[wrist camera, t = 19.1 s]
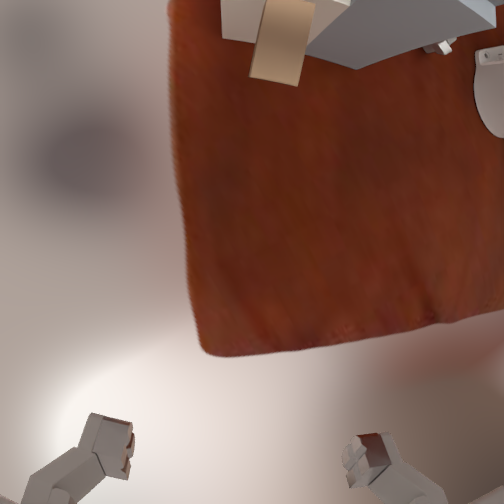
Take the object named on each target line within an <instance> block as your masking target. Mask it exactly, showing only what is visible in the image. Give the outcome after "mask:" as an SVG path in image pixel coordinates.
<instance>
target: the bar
mask: <svg viewBox="0 0 504 504" xmlns="http://www.w3.org/2000/svg"><path fill="white" fill-rule="evenodd" d="M315 6H316V4H314V3H311V2H307V1H303V0H266V1H265V4H264V6H263V11H262V15H261V20H260V24H259V29H258V33H257V38H256V42H255V47H254V52H253V57H252V61H251V66H250V71H249V76H248V77H250V78H256V79H261V80H267V81H272V82H277V83H281V84H286V85H292V86H298V82H299V78H300V73H301V69H302V64H303V60H304V55H305V51H306V46H307V42H308V37H309V33H310V28H311V24H312V19H313V15H314V10H315Z"/></svg>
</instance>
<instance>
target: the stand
mask: <svg viewBox="0 0 504 504" xmlns="http://www.w3.org/2000/svg"><path fill="white" fill-rule="evenodd" d="M265 1H266V0H221V19H222V38H225V39H232V40H238V41H244V42H250V43H255V42H256V38H257V33H258V29H259V24H260V20H261V15H262V11H263V6H264V4H265ZM303 1H307V2H311V3H314V4H316V6H315V10H314V15H313V19H312V24H311V28H310V33H309V37H308V42H307V46H306V51H305V55H309V56H313V57H316V58H320V59H323V60H327V61H330V62H333V63H337V64H340V65H343V66H346V67H349V68H352V69H355V70H358V69H360V68H363V67H365V66H368V65H371V64H373V63H376V62H379V61H381V60H384V59H387V58H390V57H393V56H395V55H398V54H401V53H404V52H407V51H410V50H413V49H417V48H420V47H423V46H426V45H430V44H433V43H436V42H440V41H443V40H447V39H451V38H454V37H458V36H462V35H466V34H470V33H474V32H479V31H483V30H488V29H493V28H496V13H495V6H498V5H502V4H504V0H303Z"/></svg>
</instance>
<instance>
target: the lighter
mask: <svg viewBox="0 0 504 504" xmlns="http://www.w3.org/2000/svg"><path fill="white" fill-rule="evenodd" d="M455 40H457V38H456V37H454V38H451V39H447V40H443V41H440V42H436V43H433V44H430V45H426V46H423V49H424V50H425V52H426V53H431V52H436V53H437V54H442V55H446V54H448V53H450V52H451V51H452V50H451V48H450V46H449V45H450V44H451V43H453V42H454V41H455Z"/></svg>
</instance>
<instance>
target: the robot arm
mask: <svg viewBox="0 0 504 504" xmlns="http://www.w3.org/2000/svg"><path fill="white" fill-rule="evenodd" d="M475 61H476V73H475V78H474V95H475V101H476V105H477V108H478V111H479V114H480V116H481V118H482V120H483V122H484V124H485V126H486V127H487V128H488V130H489V131H490V132H491V133H493V134H494V135H495V136H497V137H500V138H504V45H501V46H496V47H491V48H486V49H481V50H477V51H476V52H475ZM132 430H133V425H132V422H127V421H123V420H119V419H114V418H110V417H106V416H103V415H99V414H95V413H91V414H90V415H89V417H88V419H87V422H86V425H85V427H84V430H83V433H82V436H81V439H80V442H79V444H78V447H77V448H76V447H73V448H71V449H70V450H68V451H67V452H66V453H64V454H63V455H61V456H60V457H58V458H57V459H55V460H54V461H52V462H51V463H49V464H48V465H46V466H45V467H44V468H42V469H40V470H39V471H37V472H36V473H34V474H33V475H31V476H30V478H29V481H28V484H27V487H26V490H25V492H24V495H23V498H22V501H21V504H77V502H79V501H80V500H81V499H82V498H83V497H84V496H85V495H86V494H88V493H89V492H90V491H91V490H92V489H93V488H94V487H95V486H96V485H97V484H98V483H100V482H101V481H102V480H103V479H104V478H105V476H109V477H114V478H118V479H123V480H128V477H129V472H130V468H131V465H130V461H129V459H130V458H131V457H132V456H133V452H134V446H135V436H134V433H132ZM342 463H343V466H344V468H346V469H347V470H348V472H347V474H346V478H347V481H348V484H349V488H357V487H364V486H368V488H369V489H370V490H371V491H372V492H373V493H374V494H375V495H376V496H377V497H378V498H380V500H381V501H382V502H383V503H384V504H449V503H448V501H447V498H446V496H445V493H444V491H443V489H442V488H441V487H439V486H438V485H437V484H435V483H434V482H433V481H431V480H430V479H428V478H427V477H426V476H424V475H423V474H422V473H420V472H419V471H418V470H416V469H415V468H413V467H412V466H411V465H409V464H408V463H407V462H403V461H402V458H401V456H400V454H399V451H398V449H397V447H396V444H395V442H394V440H393V437H392V435H391V434H390V433H389V432H381V433H372V434H364V435H356V436H354V437H353V438H352V439H351V444H349V445H347V446H346V447H345V449H344V450H343V453H342ZM0 504H18V503H16V502H14V501H12V500H10V499H8V498H6V497H4V496H2V495H0ZM468 504H504V485H503V486H500V487H498V488H497V489H495V490H493V491H491V492H489V493H488V494H486V495H484V496H482V497H480V498H478V499H476V500H474V501H472V502H470V503H468Z"/></svg>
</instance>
